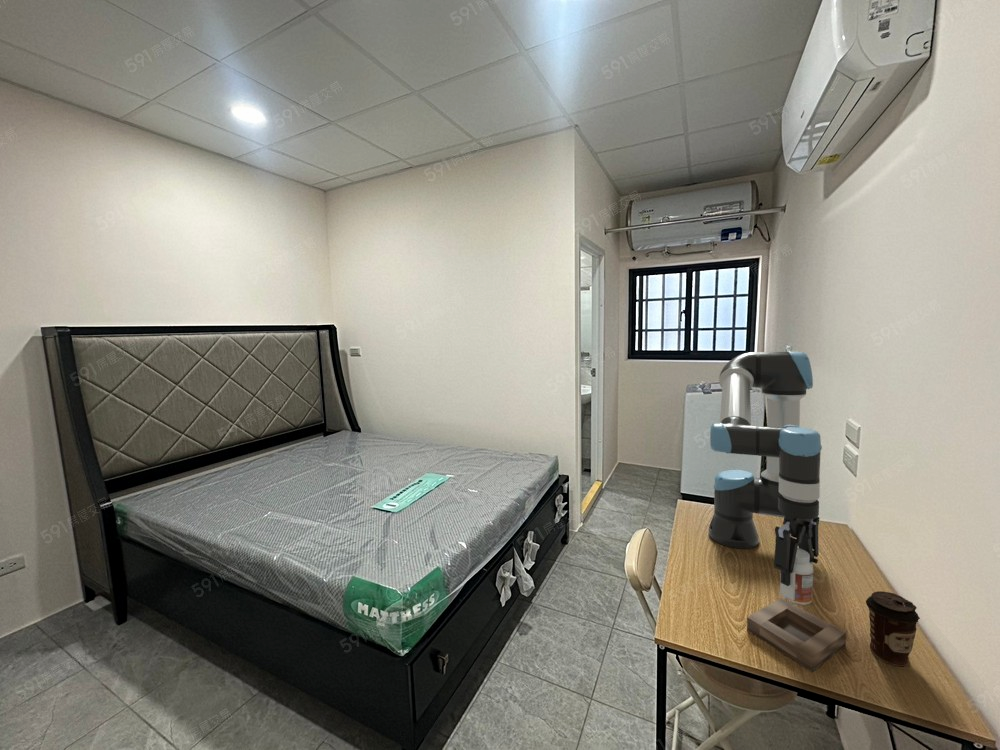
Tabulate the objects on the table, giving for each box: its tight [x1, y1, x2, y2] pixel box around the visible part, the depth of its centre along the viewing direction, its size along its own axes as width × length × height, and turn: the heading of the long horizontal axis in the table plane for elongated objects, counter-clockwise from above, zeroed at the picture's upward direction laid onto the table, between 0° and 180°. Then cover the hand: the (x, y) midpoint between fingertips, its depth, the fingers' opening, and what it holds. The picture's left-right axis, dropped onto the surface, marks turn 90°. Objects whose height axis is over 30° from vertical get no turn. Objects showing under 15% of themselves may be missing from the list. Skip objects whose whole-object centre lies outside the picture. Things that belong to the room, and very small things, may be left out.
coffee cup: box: [865, 591, 921, 667], centre depth 89 cm, size 9×8×13 cm
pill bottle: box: [779, 547, 814, 606], centre depth 94 cm, size 6×6×11 cm
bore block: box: [746, 597, 847, 672], centre depth 96 cm, size 14×14×4 cm
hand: (796, 591), depth 95 cm, fingers closed on pill bottle, 6 cm apart
